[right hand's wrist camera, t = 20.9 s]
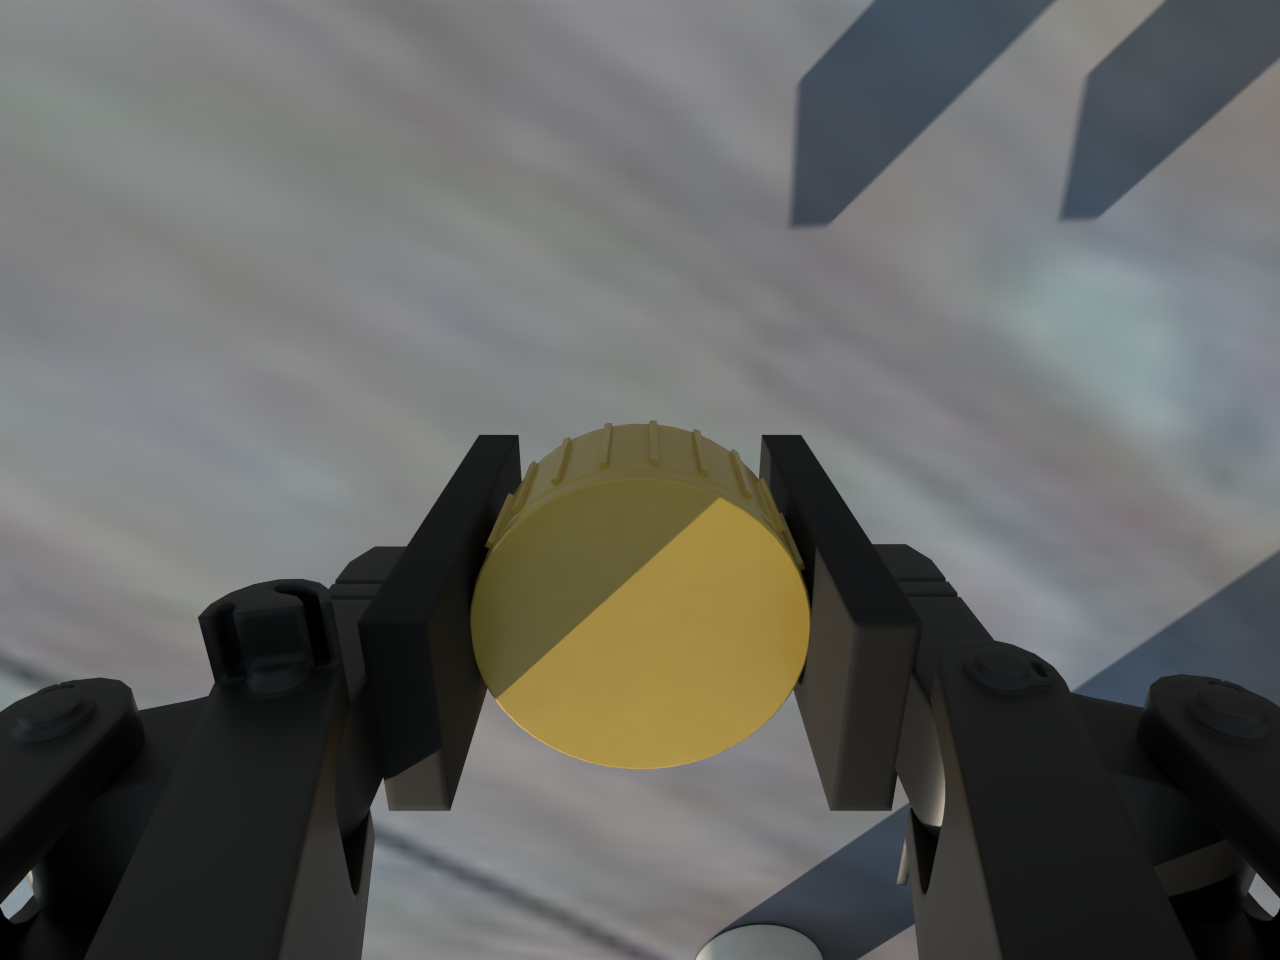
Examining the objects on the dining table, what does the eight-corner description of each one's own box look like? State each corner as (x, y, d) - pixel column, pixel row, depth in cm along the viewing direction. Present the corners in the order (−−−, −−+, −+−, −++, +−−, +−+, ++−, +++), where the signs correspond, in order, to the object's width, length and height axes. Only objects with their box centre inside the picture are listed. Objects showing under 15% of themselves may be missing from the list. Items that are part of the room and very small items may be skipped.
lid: (496, 667, 13) (466, 764, 11) (496, 405, 11) (461, 458, 9) (763, 685, 13) (787, 784, 11) (808, 429, 11) (846, 486, 9)
